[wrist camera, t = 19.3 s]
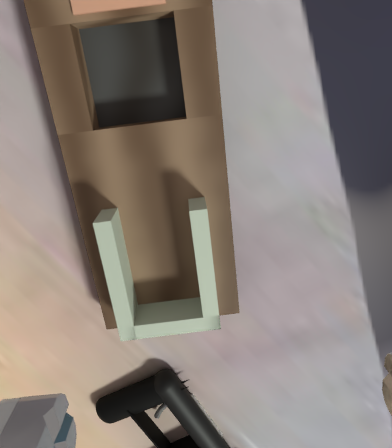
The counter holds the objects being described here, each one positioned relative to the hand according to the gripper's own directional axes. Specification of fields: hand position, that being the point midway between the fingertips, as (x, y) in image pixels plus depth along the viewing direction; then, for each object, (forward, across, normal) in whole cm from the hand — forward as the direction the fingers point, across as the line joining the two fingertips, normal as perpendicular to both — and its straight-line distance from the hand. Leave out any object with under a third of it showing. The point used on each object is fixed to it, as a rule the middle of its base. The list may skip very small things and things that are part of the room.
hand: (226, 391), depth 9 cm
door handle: (+28, +8, +35) cm, 45 cm away
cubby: (+24, +4, +8) cm, 26 cm away
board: (+27, +4, -3) cm, 28 cm away
